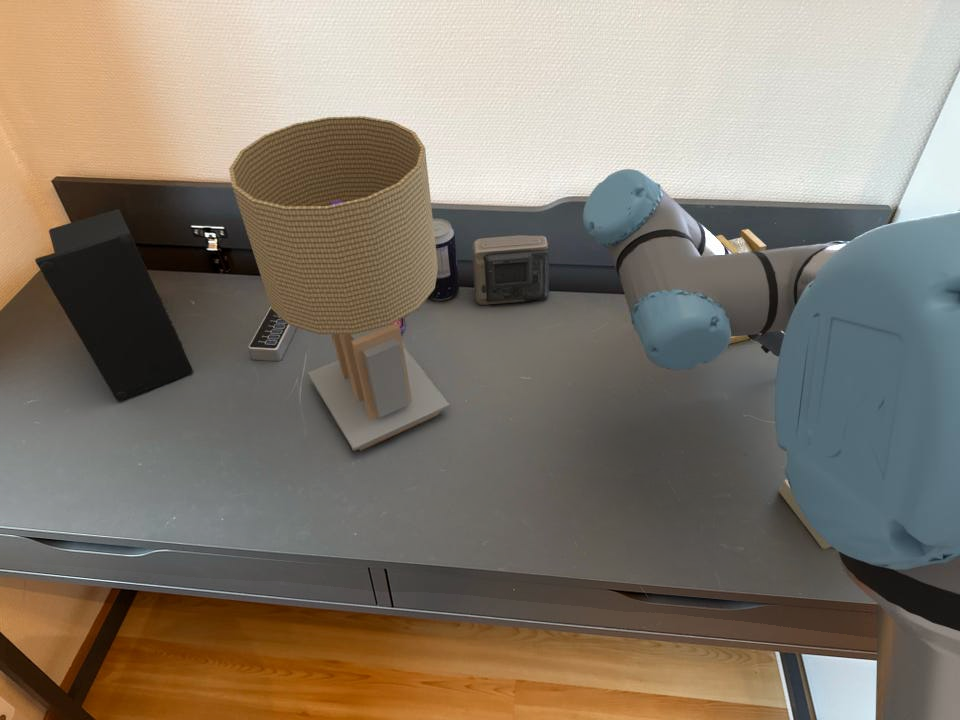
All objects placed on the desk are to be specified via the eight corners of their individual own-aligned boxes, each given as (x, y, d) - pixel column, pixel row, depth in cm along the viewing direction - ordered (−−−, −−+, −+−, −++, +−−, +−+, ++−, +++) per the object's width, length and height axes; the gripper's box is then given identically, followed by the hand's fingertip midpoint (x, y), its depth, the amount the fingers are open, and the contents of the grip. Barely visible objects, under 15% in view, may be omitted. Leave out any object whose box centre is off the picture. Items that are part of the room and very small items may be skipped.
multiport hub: (251, 359, 102) (247, 347, 100) (284, 297, 112) (281, 286, 111) (280, 361, 101) (276, 349, 100) (311, 299, 112) (308, 287, 110)
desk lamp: (478, 416, 92) (460, 169, 68) (339, 481, 85) (263, 233, 61) (411, 334, 104) (376, 101, 80) (285, 385, 97) (205, 148, 73)
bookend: (89, 315, 111) (14, 181, 95) (158, 291, 115) (98, 158, 99) (117, 405, 96) (34, 264, 80) (195, 374, 100) (132, 233, 84)
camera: (546, 283, 112) (547, 229, 105) (550, 306, 107) (551, 251, 101) (474, 288, 112) (471, 234, 105) (475, 310, 107) (471, 256, 101)
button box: (886, 529, 77) (899, 507, 74) (823, 550, 75) (834, 528, 72) (838, 473, 82) (849, 451, 80) (778, 491, 81) (787, 470, 78)
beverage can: (466, 294, 111) (461, 229, 102) (435, 308, 108) (428, 242, 100) (447, 277, 114) (440, 212, 106) (417, 290, 112) (408, 225, 104)
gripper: (639, 259, 82) (738, 336, 96) (703, 335, 71) (804, 408, 86) (686, 210, 79) (781, 296, 93) (761, 281, 69) (854, 366, 83)
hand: (792, 350), depth 90 cm, fingers closed on lever, 1 cm apart
